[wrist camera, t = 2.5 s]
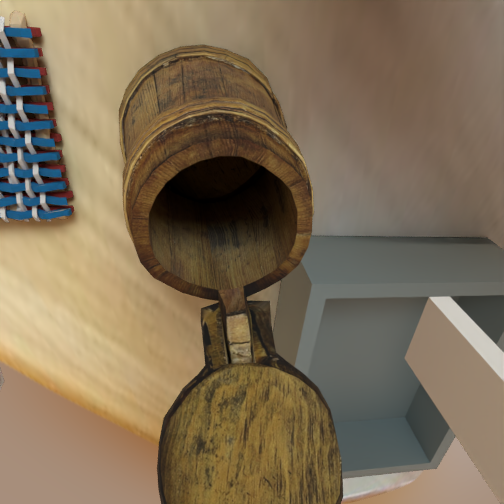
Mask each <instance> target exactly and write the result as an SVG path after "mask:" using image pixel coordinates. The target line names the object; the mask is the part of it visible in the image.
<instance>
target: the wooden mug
mask: <svg viewBox="0 0 504 504" xmlns="http://www.w3.org/2000/svg"><path fill="white" fill-rule="evenodd" d="M119 124H120V145H121V150H122V154H123V158H124V163H125V168H124V171H123V207H124V214H125V220H126V226H127V229H128V232H129V234H130V236H131V239H132V241H133V243H134V246H135V248H136V251H137V254H138V257H139V259H140V262H141V263H142V265H143V266H144V267H145V268H146V269H147V270H148V272H149V273H150V274H151V275H152V276H153V277H154V278H155V279H157V280H159V281H161V282H163V283H165V284H167V285H169V286H171V287H173V288H175V289H176V290H178V291H180V292H182V293H186V294H189V295H193V296H196V297H200V298H205V299H211V300H218V301H219V303H216V304H213V305H210V306H207V307H204V308H201V327H202V335H203V345H204V355H205V367H204V368H203V369H202V370H201V372H200V373H199V374H198V375H197V376H196V377H195V378H194V379H193V380H192V381H190V382H189V383H188V384H187V385H186V386H185V387H184V388H183V389H182V391H181V392H180V394H179V395H178V397H177V399H176V400H175V402H174V403H173V405H172V406H171V408H170V409H169V411H168V412H167V414H166V415H165V417H164V420H163V425H162V430H161V436H160V441H159V451H158V465H157V472H158V487H159V493H160V499H161V504H341V501H342V498H343V482H342V459H341V455H340V450H339V445H338V440H337V436H336V431H335V427H334V422H333V418H332V414H331V410H330V408H329V406H328V404H327V402H326V400H325V399H324V397H323V395H322V393H321V391H320V390H319V388H318V387H317V386H316V385H315V384H314V383H313V382H312V381H311V380H310V379H309V378H308V377H307V376H306V375H305V374H304V373H302V372H301V371H299V370H298V369H297V368H295V367H294V366H293V365H291V364H290V363H289V362H287V361H286V360H285V359H284V358H282V357H281V356H280V355H279V354H278V353H276V349H275V344H274V338H273V333H272V327H271V315H270V301H247V297H248V296H250V295H252V294H255V293H257V292H259V291H261V290H263V289H265V288H267V287H269V286H271V285H272V284H274V283H276V282H278V281H279V280H281V279H283V278H284V277H286V276H287V275H288V274H289V273H290V272H291V271H292V270H294V269H295V268H296V267H297V266H298V265H299V263H300V261H301V260H302V258H303V256H304V254H305V252H306V250H307V249H308V246H309V241H310V237H311V233H312V217H313V214H314V204H313V188H312V184H311V181H310V178H309V174H308V171H307V168H306V164H305V161H304V158H303V156H302V154H301V152H300V149H299V147H298V145H297V144H296V142H295V141H294V139H293V138H292V137H291V135H290V134H289V133H288V131H287V126H286V123H285V120H284V117H283V114H282V110H281V107H280V104H279V101H278V100H277V98H276V97H275V95H274V94H273V92H272V90H271V87H270V85H269V82H268V79H267V77H266V76H265V75H264V74H263V73H262V72H261V71H260V70H259V69H258V68H257V67H256V66H255V65H254V64H253V63H252V62H251V61H250V60H249V59H247V58H244V57H242V56H240V55H237V54H235V53H233V52H230V51H228V50H226V49H221V48H216V47H212V46H207V45H196V46H183V47H178V48H176V49H173V50H171V51H168V52H165V53H163V54H160V55H158V56H157V57H155V58H154V59H153V60H151V61H150V62H149V63H148V64H146V65H145V66H144V67H142V68H141V69H140V70H139V71H138V72H137V74H136V75H135V77H134V78H133V80H132V81H131V83H130V84H129V86H128V87H127V89H126V91H125V94H124V97H123V100H122V103H121V106H120V109H119Z"/></svg>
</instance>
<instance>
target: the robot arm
mask: <svg viewBox="0 0 504 504" xmlns="http://www.w3.org/2000/svg"><path fill="white" fill-rule="evenodd" d="M405 360H406V361H407V363H408V364H409V366H410V367H411V369H412V370H413V372H414V374H415V375H416V377H417V378H418V380H419V381H420V383H421V384H422V386H423V387H424V389H425V390H426V392H427V393H428V395H429V396H430V398H431V399H432V401H433V402H434V404H435V405H436V407H437V408H438V410H439V411H440V413H441V414H442V416H443V418H444V419H445V421H446V422H447V424H448V425H449V427H450V428H451V430H452V431H453V433H454V434H455V436H456V437H457V439H458V440H459V442H460V443H461V445H462V446H463V447H464V449H465V451H466V452H467V454H468V455H469V457H470V458H471V460H472V462H473V463H474V465H475V466H476V468H477V469H478V471H479V472H480V474H481V475H482V477H483V478H484V479H485V481H486V483H487V484H488V486H489V487H490V489H491V490H492V492H493V493H494V495H495V496H496V498H497V499H498V501H499V502H500V504H504V352H503V351H502V350H501V349H500V348H499V347H498V346H497V345H496V344H495V343H494V342H493V341H492V340H491V339H490V338H489V337H488V336H487V335H486V334H485V333H484V332H483V331H482V329H481V328H480V327H479V326H478V325H477V324H476V323H475V322H474V321H473V320H472V319H471V318H470V317H469V316H468V315H467V314H466V313H465V312H464V311H463V310H462V309H461V308H460V307H459V306H458V305H457V303H456V302H455V301H454V300H453V299H452V298H451V297H450V296H448V297H429V298H428V300H427V303H426V305H425V308H424V310H423V313H422V315H421V318H420V320H419V323H418V325H417V328H416V331H415V333H414V336H413V338H412V341H411V343H410V346H409V348H408V351H407V353H406V356H405ZM3 383H4V378H3V375H2V372H1V368H0V389H1V387H2V385H3Z"/></svg>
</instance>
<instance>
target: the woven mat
mask: <svg viewBox="0 0 504 504" xmlns="http://www.w3.org/2000/svg"><path fill="white" fill-rule="evenodd" d="M6 36H11V37H13V39H14V41H15V43H16V45H17V47H11V46H10V44H9V42H8V39H7V37H6ZM32 36H35V37H39V36H42V34H41V30H40V28H35V27H27V24H26V18H25V13H22V12H18V11H15V10H14V11H13V12H12V13H11V14H10V26H4V17H1V16H0V95H1V96H0V177H4V179H0V191H5V192H8V193H1V192H0V218H2V219H3V220H4V221H5V222H8V223H10V222H9V221H8V219H7V218H12V219H14V220H19V221H23V220H25V221H29V218H32V217H33V218H34V219H35V220H36V221H39V222H41V221H40V219H39V218H41V219H47V222H48V221H51V219H52V218H58V219H61V220H63V219H67V218H68V216H70V215H71V214H72V212H74V207H73V206H67V205H68V204H67V198H71V197H73V192H72V191H64V189H65V188H67V187H66V185H69V181H68V178H62V175H61V172H65V171H66V167H65V165H59V162H58V160H59V159H61V158H60V157H62V156H63V155H62V150H56V148H55V142H54V141H56V142H59V141H61V140H62V138H61V134H57V133H52V132H50V129H51V128H54V127H56V126H57V124H56V119H49V115H48V110H54V108H53V103H52V102H46V101H45V96H44V95H45V94H49V93H50V89H49V85H42V82H41V75H47V71H46V68H43V67H38V63H37V58H36V57H39V56H43V53H42V48H34V44H33V42H32V40H31V38H32ZM13 57H14V58H22V61H23V65H24V66H16V65H14V59H13ZM16 76H18V77H26V79H27V83H28V85H20V83H19V81H18V79H17V77H16ZM25 95H30V96H31V100H32V102H23V96H25ZM1 97H2V98H1ZM25 112H29V113H34V114H35V119H33V118H27V116H26V114H25ZM5 113H8V117H7V116H5ZM7 129H10V131H11V133H12V134H8V130H7ZM31 130H36V132H34V133H31ZM33 145H37V146H38V147H39V148H40V149H41V150H35V149H34V147H33ZM11 146H12V147H17V149H12V147H11ZM14 161H17V162H15V163H14ZM41 161H45V162H46V164H41V163H38V162H41ZM40 175H41V176H48V177H49V178H41V177H40ZM17 177H20V178H24V179H18V178H17ZM25 190H26V192H22V191H25ZM47 191H52V192H47ZM47 203H48V204H54V205H47Z"/></svg>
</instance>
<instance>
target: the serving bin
mask: <svg viewBox="0 0 504 504" xmlns="http://www.w3.org/2000/svg"><path fill="white" fill-rule="evenodd" d="M448 296H450V297H451V298H452V299H453V300H454V301H455V302H456V303H457V305H458V306H459V307H460V308H461V309H462V310H463V311H464V312H465V313H466V314H467V315H468V316H469V317H470V318H471V319H472V320H473V321H474V322H475V323H476V324H477V325H478V326H479V327H480V328H481V329H482V331H483V332H484V333H485V334H486V335H487V336H488V337H489V338H490V339H491V340H492V341H493V342H494V343H495V344H496V345H497V346H498V347H499V348H500V349H501V350H502V351H503V352H504V250H503V249H502V248H500V247H499V246H498V245H496V244H495V243H494V242H492V241H491V240H490V239H488V238H469V237H376V236H311V237H310V241H309V246H308V249H307V250H306V252H305V254H304V256H303V258H302V260H301V261H300V263H299V265H298V266H297V267H296V268H295V269H294V270H292V271H291V272H290V273H289V274H288V275H287V276H286V277H284V278H283V279H282V281H281V287H280V293H279V299H278V305H277V311H276V317H275V323H274V329H273V338H274V344H275V349H276V353H278V354H279V355H280V356H281V357H282V358H284V359H285V360H286V361H287V362H289V363H290V364H291V365H293V366H294V367H295V368H297V369H298V370H299V371H301V372H302V373H304V374H305V375H306V376H307V377H308V378H309V379H310V380H311V381H312V382H313V383H314V384H315V385H316V386H317V387H318V388H319V390H320V391H321V393H322V395H323V397H324V399H325V400H326V402H327V404H328V406H329V408H330V410H331V414H332V418H333V422H334V427H335V431H336V436H337V440H338V445H339V450H340V455H341V459H342V479H344V478H353V477H362V476H372V475H381V474H391V473H400V472H409V471H419V470H428V469H436V468H437V467H438V465H439V464H440V462H441V460H442V458H443V457H444V455H445V453H446V452H447V450H448V448H449V447H450V445H451V443H452V441H453V440H454V438H455V434H454V433H453V431H452V430H451V428H450V427H449V425H448V424H447V422H446V421H445V419H444V418H443V416H442V414H441V413H440V411H439V410H438V408H437V407H436V405H435V404H434V402H433V401H432V399H431V398H430V396H429V395H428V393H427V392H426V390H425V389H424V387H423V386H422V384H421V383H420V381H419V380H418V378H417V377H416V375H415V374H414V372H413V370H412V369H411V367H410V366H409V364H408V363H407V361H406V360H405V356H406V353H407V351H408V348H409V346H410V343H411V341H412V338H413V336H414V333H415V331H416V328H417V325H418V323H419V320H420V318H421V315H422V313H423V310H424V308H425V305H426V303H427V300H428V298H429V297H448Z"/></svg>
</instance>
